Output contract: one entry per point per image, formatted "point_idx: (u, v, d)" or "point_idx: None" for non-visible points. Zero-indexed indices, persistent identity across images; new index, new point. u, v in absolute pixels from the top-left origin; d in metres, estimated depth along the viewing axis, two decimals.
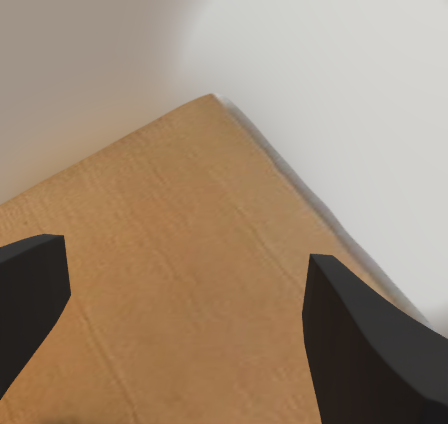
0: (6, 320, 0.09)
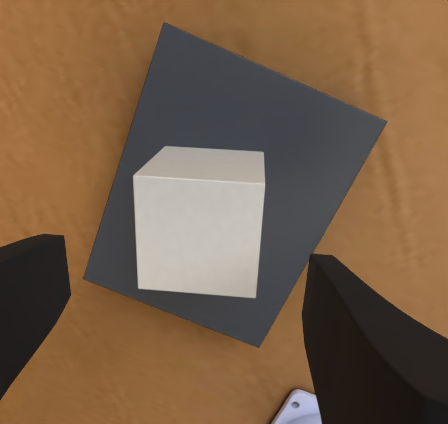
0: (6, 320, 0.09)
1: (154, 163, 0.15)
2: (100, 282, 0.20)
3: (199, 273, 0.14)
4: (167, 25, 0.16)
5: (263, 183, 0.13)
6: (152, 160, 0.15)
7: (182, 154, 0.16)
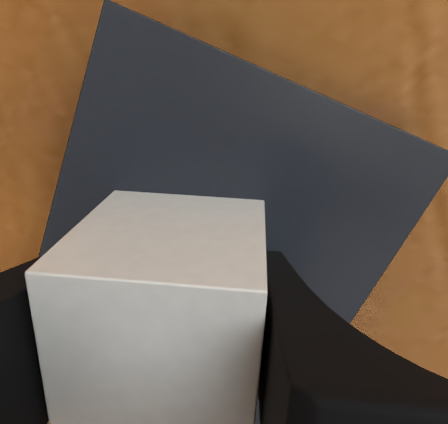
0: None
1: (79, 234, 0.09)
2: None
3: None
4: (110, 3, 0.10)
5: (264, 290, 0.07)
6: (79, 226, 0.09)
7: (135, 209, 0.10)
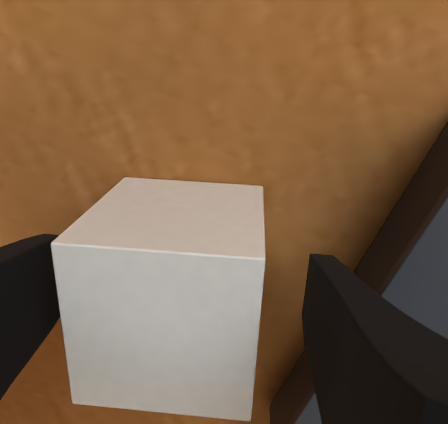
0: (6, 320, 0.09)
1: (96, 213, 0.10)
2: None
3: (163, 386, 0.09)
4: None
5: (262, 258, 0.08)
6: (95, 207, 0.10)
7: (144, 193, 0.11)
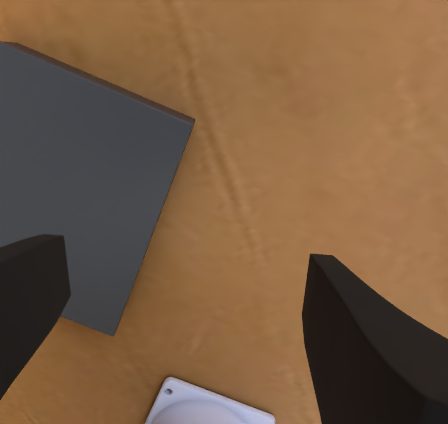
0: (6, 320, 0.09)
1: None
2: None
3: None
4: None
5: None
6: None
7: None
